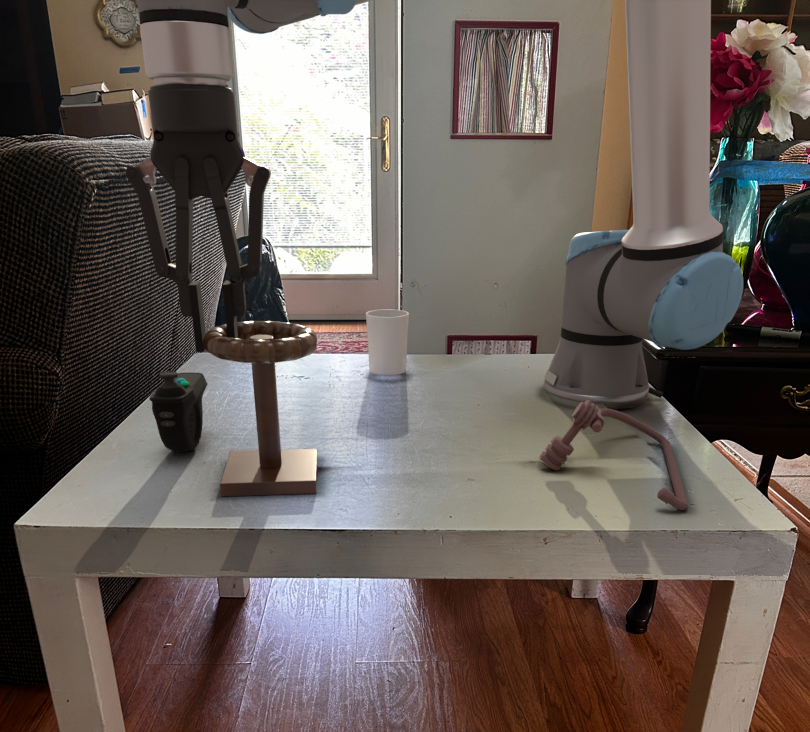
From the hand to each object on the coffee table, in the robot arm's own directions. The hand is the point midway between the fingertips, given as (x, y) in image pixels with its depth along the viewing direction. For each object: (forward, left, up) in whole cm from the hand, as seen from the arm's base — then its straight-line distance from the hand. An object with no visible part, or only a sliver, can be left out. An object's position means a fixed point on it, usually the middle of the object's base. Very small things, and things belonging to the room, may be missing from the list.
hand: (217, 348), depth 80 cm
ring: (-4, 0, +1) cm, 4 cm away
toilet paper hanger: (-42, +1, -15) cm, 45 cm away
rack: (-4, 0, -14) cm, 15 cm away
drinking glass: (-20, -42, -15) cm, 49 cm away
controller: (+7, -11, -15) cm, 19 cm away
